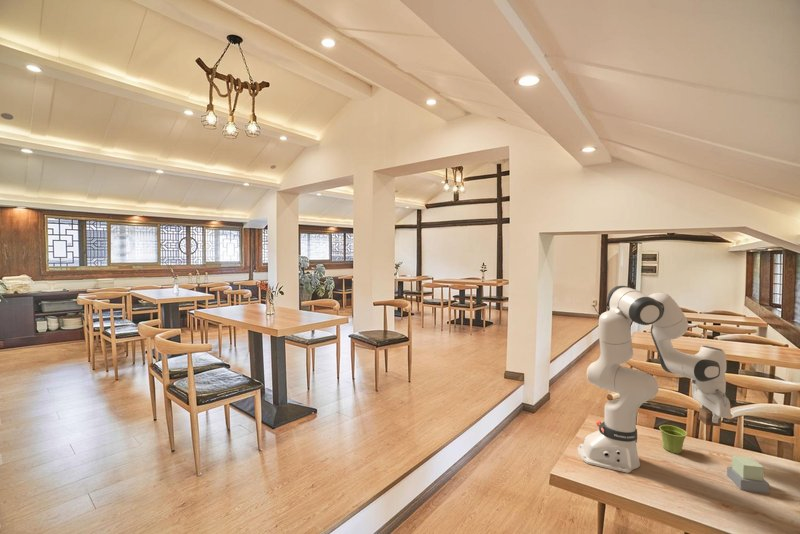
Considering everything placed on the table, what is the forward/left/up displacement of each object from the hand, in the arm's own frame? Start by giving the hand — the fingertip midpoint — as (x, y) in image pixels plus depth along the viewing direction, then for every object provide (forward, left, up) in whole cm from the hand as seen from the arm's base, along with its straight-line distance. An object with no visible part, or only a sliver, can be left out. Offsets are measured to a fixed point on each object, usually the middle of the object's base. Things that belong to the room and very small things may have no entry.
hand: (709, 418), depth 145 cm
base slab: (+4, -16, -17) cm, 24 cm away
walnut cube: (0, 0, -2) cm, 2 cm away
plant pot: (-12, +3, -17) cm, 21 cm away
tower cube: (+4, -16, -13) cm, 21 cm away
